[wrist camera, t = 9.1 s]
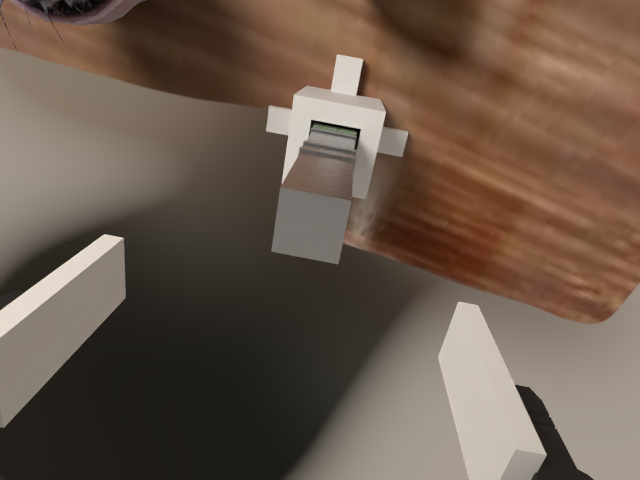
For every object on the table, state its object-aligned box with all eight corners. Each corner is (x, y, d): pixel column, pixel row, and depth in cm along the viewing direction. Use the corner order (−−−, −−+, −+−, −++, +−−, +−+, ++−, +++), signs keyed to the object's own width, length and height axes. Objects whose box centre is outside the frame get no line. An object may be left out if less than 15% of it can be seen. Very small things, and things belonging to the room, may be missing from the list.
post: (317, 118, 45) (278, 184, 23) (357, 126, 45) (355, 198, 23) (310, 158, 47) (268, 253, 25) (349, 165, 47) (340, 266, 25)
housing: (278, 43, 49) (257, 41, 39) (422, 70, 49) (439, 75, 39) (261, 182, 56) (240, 211, 46) (388, 206, 56) (394, 240, 46)
